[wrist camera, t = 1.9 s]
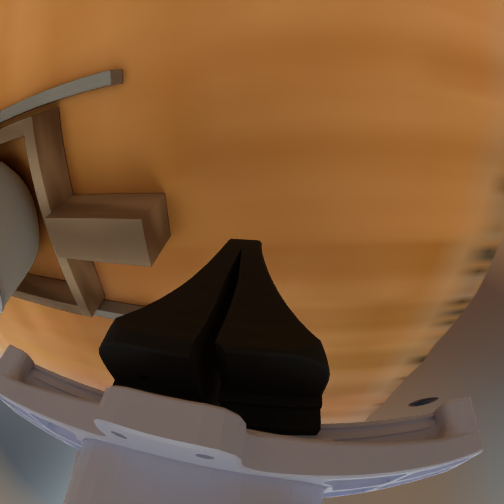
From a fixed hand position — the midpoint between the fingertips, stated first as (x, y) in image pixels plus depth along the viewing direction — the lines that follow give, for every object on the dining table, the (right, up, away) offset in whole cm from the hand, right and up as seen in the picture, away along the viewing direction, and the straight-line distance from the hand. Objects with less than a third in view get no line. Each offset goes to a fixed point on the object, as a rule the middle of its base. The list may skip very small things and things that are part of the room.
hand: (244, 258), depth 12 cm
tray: (-17, +3, +5) cm, 18 cm away
